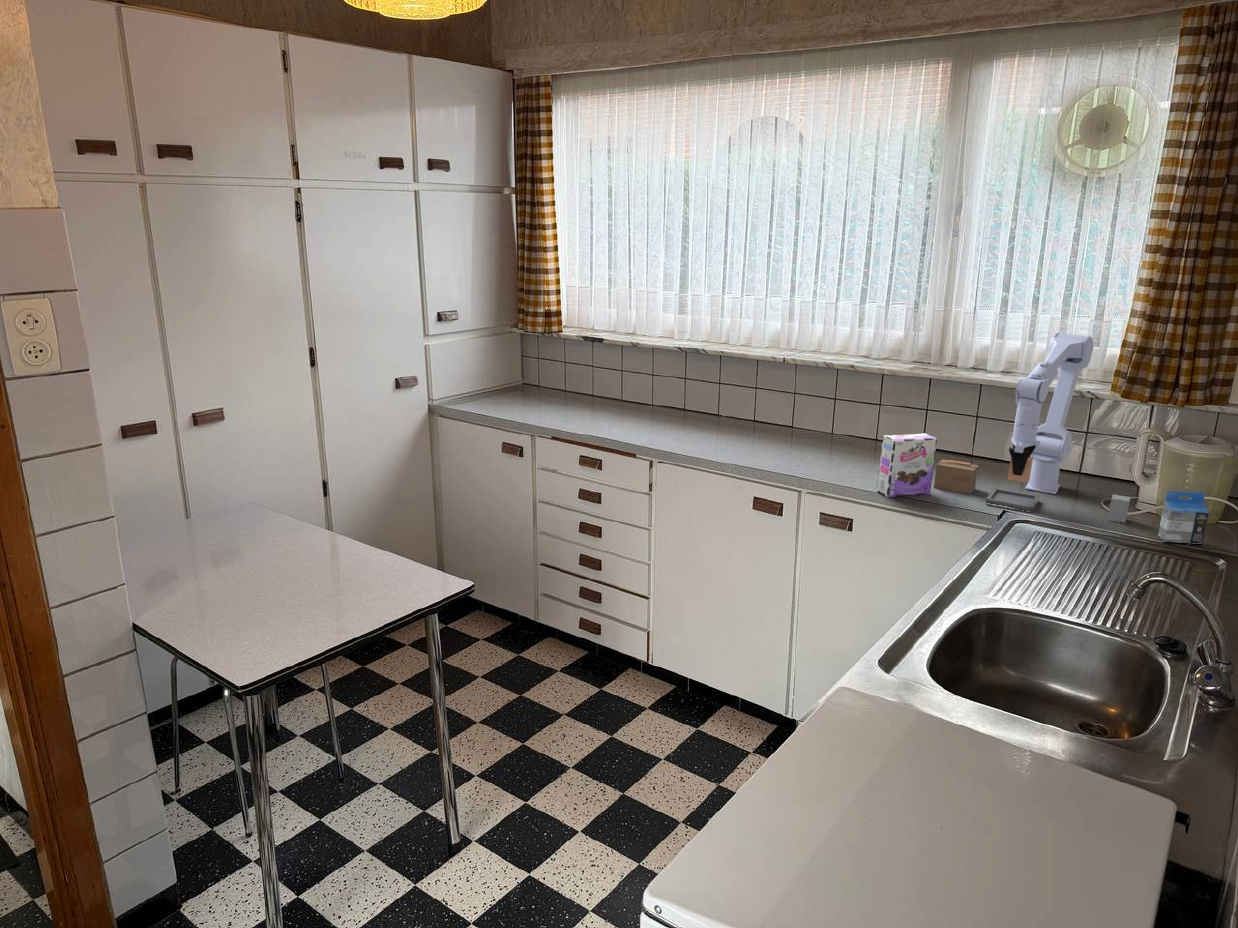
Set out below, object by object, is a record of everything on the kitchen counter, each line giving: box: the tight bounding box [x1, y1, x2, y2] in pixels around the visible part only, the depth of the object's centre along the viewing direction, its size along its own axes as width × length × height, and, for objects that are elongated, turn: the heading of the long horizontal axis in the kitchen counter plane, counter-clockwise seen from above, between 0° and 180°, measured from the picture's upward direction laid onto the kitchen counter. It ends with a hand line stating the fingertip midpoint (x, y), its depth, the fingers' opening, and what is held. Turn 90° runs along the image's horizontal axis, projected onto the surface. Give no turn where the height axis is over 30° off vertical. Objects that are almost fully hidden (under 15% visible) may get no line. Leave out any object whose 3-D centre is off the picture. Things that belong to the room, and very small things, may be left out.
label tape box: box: [1157, 490, 1210, 543], centre depth 210 cm, size 9×4×12 cm, turn 82°
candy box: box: [875, 432, 938, 498], centre depth 241 cm, size 14×6×16 cm, turn 105°
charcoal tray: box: [985, 487, 1040, 513], centre depth 237 cm, size 12×12×2 cm
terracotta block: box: [1007, 456, 1033, 484], centre depth 234 cm, size 4×5×6 cm
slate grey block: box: [1107, 494, 1131, 524], centre depth 225 cm, size 4×4×6 cm
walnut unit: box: [933, 459, 979, 495], centre depth 248 cm, size 7×10×7 cm, turn 58°
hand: (1018, 472), depth 235 cm, fingers closed on terracotta block, 4 cm apart
